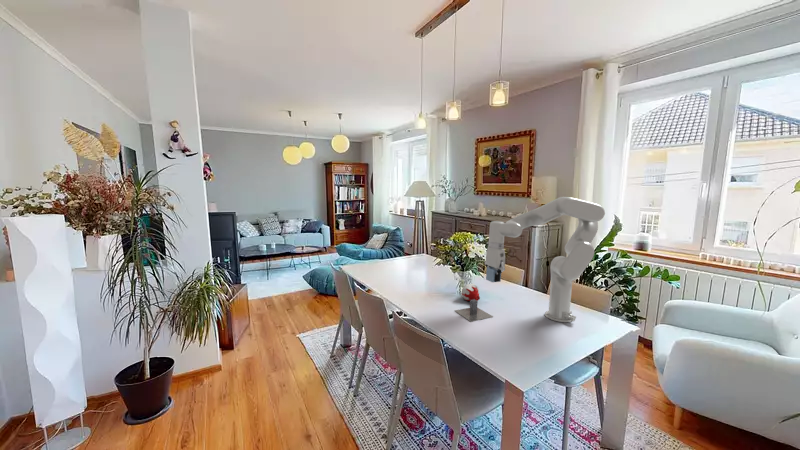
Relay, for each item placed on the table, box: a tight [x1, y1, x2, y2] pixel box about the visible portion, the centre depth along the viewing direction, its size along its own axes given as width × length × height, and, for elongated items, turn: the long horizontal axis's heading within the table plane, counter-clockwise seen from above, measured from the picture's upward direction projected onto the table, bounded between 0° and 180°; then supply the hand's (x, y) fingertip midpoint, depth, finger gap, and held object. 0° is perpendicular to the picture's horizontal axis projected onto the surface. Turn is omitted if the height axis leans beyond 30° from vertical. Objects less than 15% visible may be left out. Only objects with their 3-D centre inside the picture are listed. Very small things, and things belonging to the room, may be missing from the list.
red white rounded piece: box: [460, 283, 481, 302], centre depth 178 cm, size 9×11×15 cm
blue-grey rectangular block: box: [485, 267, 502, 283], centre depth 158 cm, size 5×5×7 cm
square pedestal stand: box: [454, 299, 494, 323], centre depth 158 cm, size 14×14×7 cm
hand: (493, 279), depth 159 cm, fingers closed on blue-grey rectangular block, 5 cm apart
